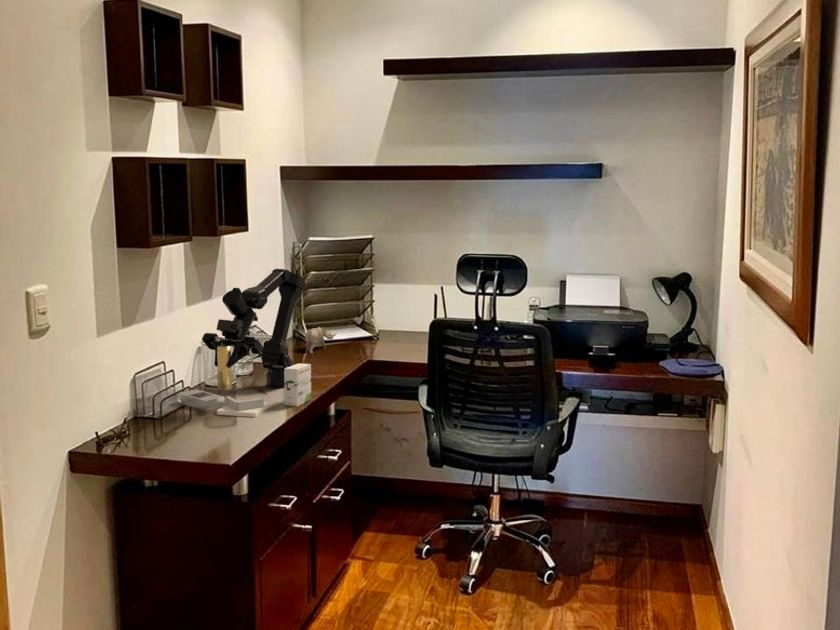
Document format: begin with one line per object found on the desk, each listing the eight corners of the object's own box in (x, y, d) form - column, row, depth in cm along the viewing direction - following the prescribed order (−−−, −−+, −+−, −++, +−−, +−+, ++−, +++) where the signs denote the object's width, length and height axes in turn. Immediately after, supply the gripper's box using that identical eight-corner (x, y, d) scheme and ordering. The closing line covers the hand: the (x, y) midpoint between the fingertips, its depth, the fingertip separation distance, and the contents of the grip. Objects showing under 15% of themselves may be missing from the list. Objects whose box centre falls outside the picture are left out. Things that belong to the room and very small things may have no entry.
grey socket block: (177, 402, 260) (177, 393, 259) (196, 398, 265) (196, 389, 265) (205, 410, 251) (205, 401, 251) (224, 406, 257) (224, 396, 256)
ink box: (298, 398, 267) (298, 362, 265) (312, 400, 265) (311, 363, 263) (283, 404, 259) (283, 367, 258) (297, 406, 257) (297, 369, 256)
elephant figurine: (292, 346, 337) (307, 314, 343) (307, 360, 349) (321, 329, 354) (308, 350, 334) (323, 317, 339) (323, 364, 345) (337, 332, 351)
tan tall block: (224, 386, 256) (223, 344, 253) (234, 388, 254) (233, 346, 251) (215, 388, 252) (214, 346, 250) (224, 390, 250) (223, 348, 248)
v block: (232, 404, 259) (231, 392, 258) (269, 406, 257) (269, 394, 257) (216, 414, 247) (216, 402, 247) (255, 416, 245) (255, 404, 245)
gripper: (204, 306, 256) (183, 348, 248) (257, 310, 249) (237, 354, 241) (219, 328, 264) (200, 369, 256) (271, 332, 258) (252, 374, 250)
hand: (221, 366), depth 250 cm, fingers closed on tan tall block, 4 cm apart
